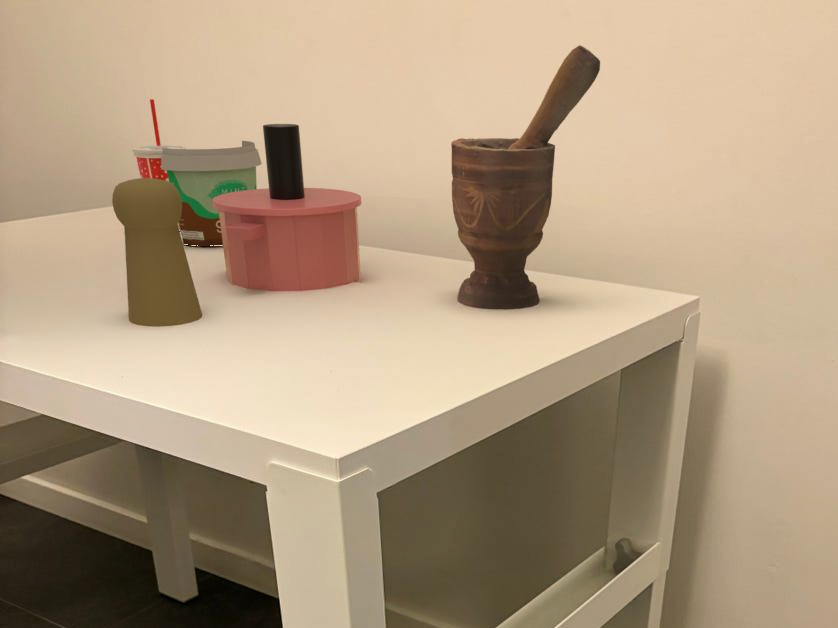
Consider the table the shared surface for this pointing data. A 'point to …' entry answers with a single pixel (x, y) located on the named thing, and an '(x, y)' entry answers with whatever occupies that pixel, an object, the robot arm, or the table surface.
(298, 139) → the lid
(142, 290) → the cork
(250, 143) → the food container
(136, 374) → the table surface
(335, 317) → the table surface
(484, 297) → the mortar and pestle
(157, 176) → the beverage cup
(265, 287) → the pot
